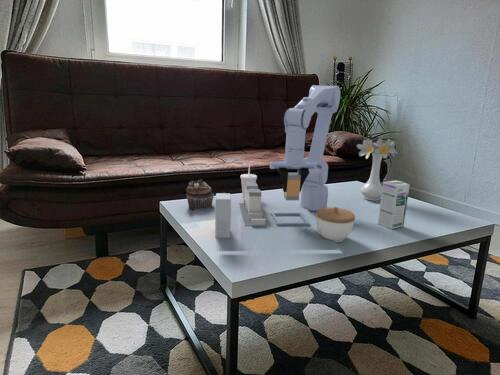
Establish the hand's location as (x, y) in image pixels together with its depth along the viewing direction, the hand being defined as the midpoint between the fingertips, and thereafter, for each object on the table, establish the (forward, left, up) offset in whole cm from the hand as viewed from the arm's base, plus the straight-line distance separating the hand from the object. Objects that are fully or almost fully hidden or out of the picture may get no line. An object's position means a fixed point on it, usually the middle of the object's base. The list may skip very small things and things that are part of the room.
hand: (291, 191), depth 109 cm
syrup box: (-33, +3, -11) cm, 35 cm away
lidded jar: (-10, +13, -11) cm, 20 cm away
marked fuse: (0, 0, -2) cm, 2 cm away
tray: (0, 0, -10) cm, 10 cm away
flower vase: (-40, -27, -11) cm, 49 cm away
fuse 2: (+11, -6, -10) cm, 16 cm away
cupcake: (+29, -15, -11) cm, 34 cm away
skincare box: (+22, +11, -11) cm, 27 cm away
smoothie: (+11, -24, -11) cm, 28 cm away
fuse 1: (+11, -14, -10) cm, 20 cm away
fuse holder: (+11, -6, -10) cm, 16 cm away
